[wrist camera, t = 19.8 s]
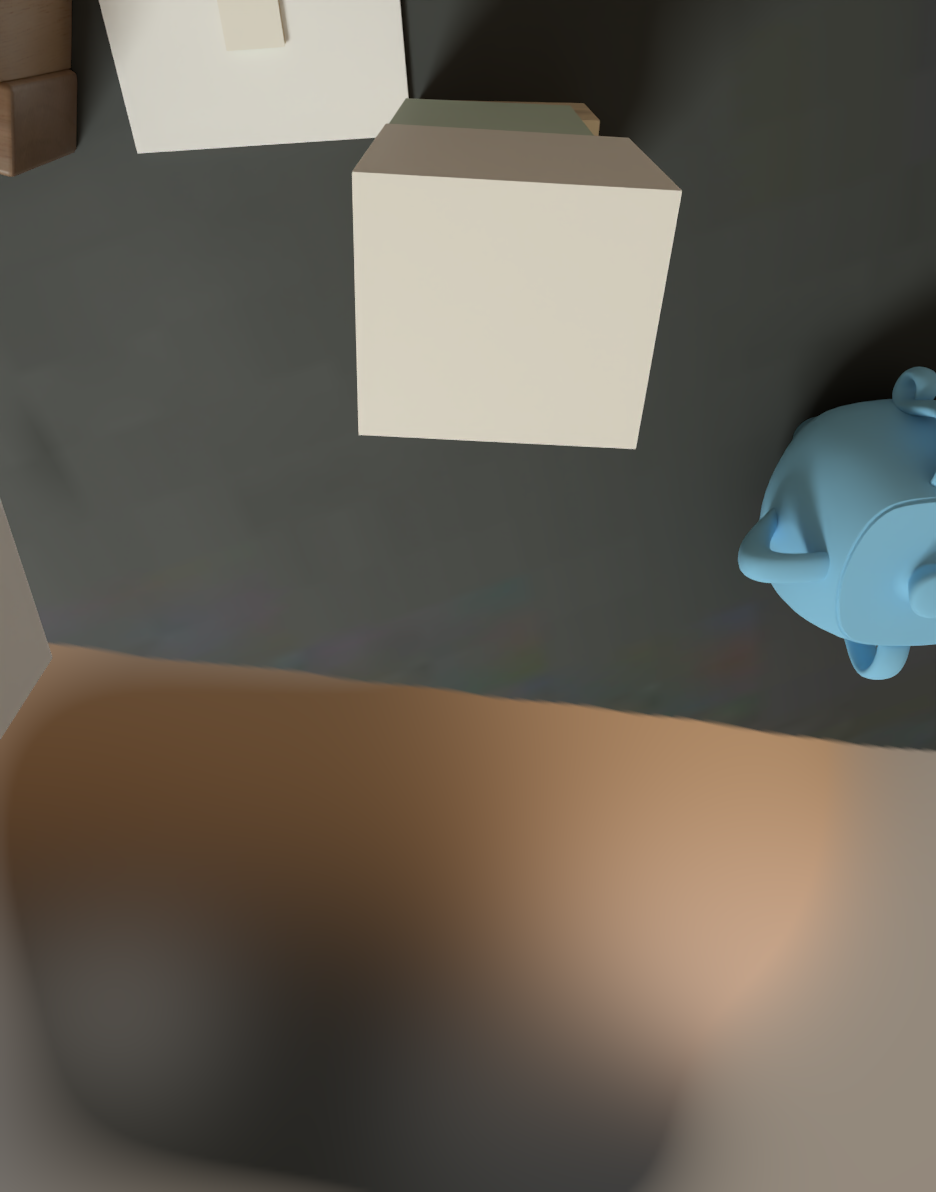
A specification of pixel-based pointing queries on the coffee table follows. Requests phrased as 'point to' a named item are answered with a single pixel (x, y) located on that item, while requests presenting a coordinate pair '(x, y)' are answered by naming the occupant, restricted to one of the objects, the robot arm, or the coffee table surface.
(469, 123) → the sage block
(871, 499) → the teapot
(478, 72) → the coffee table surface
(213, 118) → the page
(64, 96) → the wooden toy
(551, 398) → the cream block
